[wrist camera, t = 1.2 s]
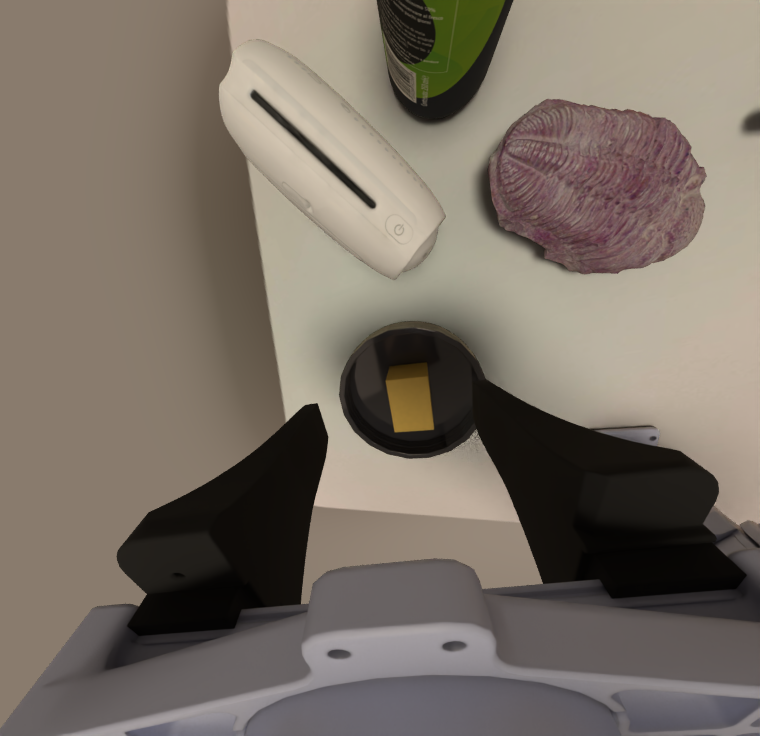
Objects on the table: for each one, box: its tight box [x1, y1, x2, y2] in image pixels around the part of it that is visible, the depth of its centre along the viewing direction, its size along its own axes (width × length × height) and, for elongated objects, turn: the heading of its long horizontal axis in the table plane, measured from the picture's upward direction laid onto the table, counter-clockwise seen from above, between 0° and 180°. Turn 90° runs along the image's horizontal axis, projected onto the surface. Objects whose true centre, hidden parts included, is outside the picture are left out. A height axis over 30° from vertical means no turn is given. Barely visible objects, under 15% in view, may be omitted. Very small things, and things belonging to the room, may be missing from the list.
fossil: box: [488, 99, 707, 274], centre depth 17 cm, size 8×14×5 cm, turn 71°
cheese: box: [386, 362, 434, 432], centre depth 24 cm, size 5×3×3 cm
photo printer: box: [219, 39, 446, 280], centre depth 15 cm, size 10×4×12 cm, turn 50°
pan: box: [339, 321, 486, 459], centre depth 25 cm, size 13×13×3 cm
